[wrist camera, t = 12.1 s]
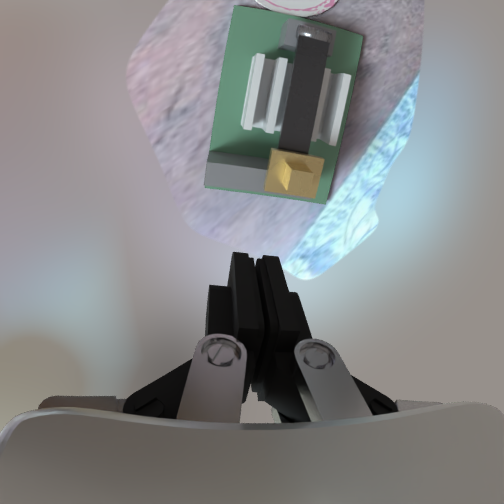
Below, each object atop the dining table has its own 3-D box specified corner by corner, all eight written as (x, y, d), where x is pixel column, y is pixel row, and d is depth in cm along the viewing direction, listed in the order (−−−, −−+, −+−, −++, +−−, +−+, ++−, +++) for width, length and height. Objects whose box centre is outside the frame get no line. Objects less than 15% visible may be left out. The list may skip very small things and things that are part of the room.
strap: (297, 25, 24) (300, 22, 23) (328, 33, 25) (333, 31, 23) (271, 164, 31) (274, 167, 29) (301, 169, 31) (305, 172, 30)
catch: (270, 147, 28) (276, 155, 25) (321, 156, 29) (332, 165, 26) (263, 187, 30) (267, 199, 27) (312, 195, 31) (321, 207, 28)
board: (234, 7, 27) (236, -9, 21) (359, 37, 29) (385, 30, 23) (205, 185, 37) (201, 204, 32) (323, 201, 40) (339, 223, 34)
